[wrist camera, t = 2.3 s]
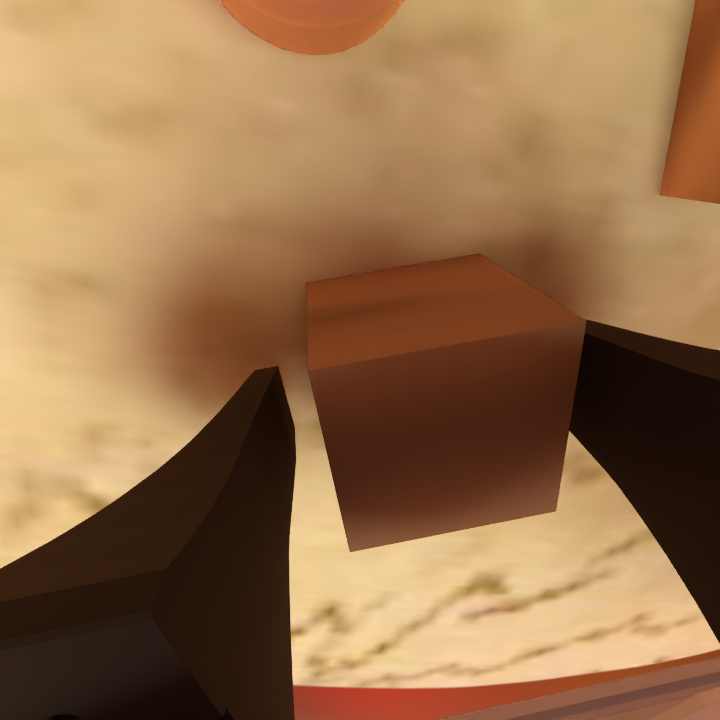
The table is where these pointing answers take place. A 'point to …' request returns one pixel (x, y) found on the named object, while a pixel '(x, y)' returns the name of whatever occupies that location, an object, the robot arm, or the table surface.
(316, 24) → the terracotta cylinder
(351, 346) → the walnut cube
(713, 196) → the oak block
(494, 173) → the table surface
